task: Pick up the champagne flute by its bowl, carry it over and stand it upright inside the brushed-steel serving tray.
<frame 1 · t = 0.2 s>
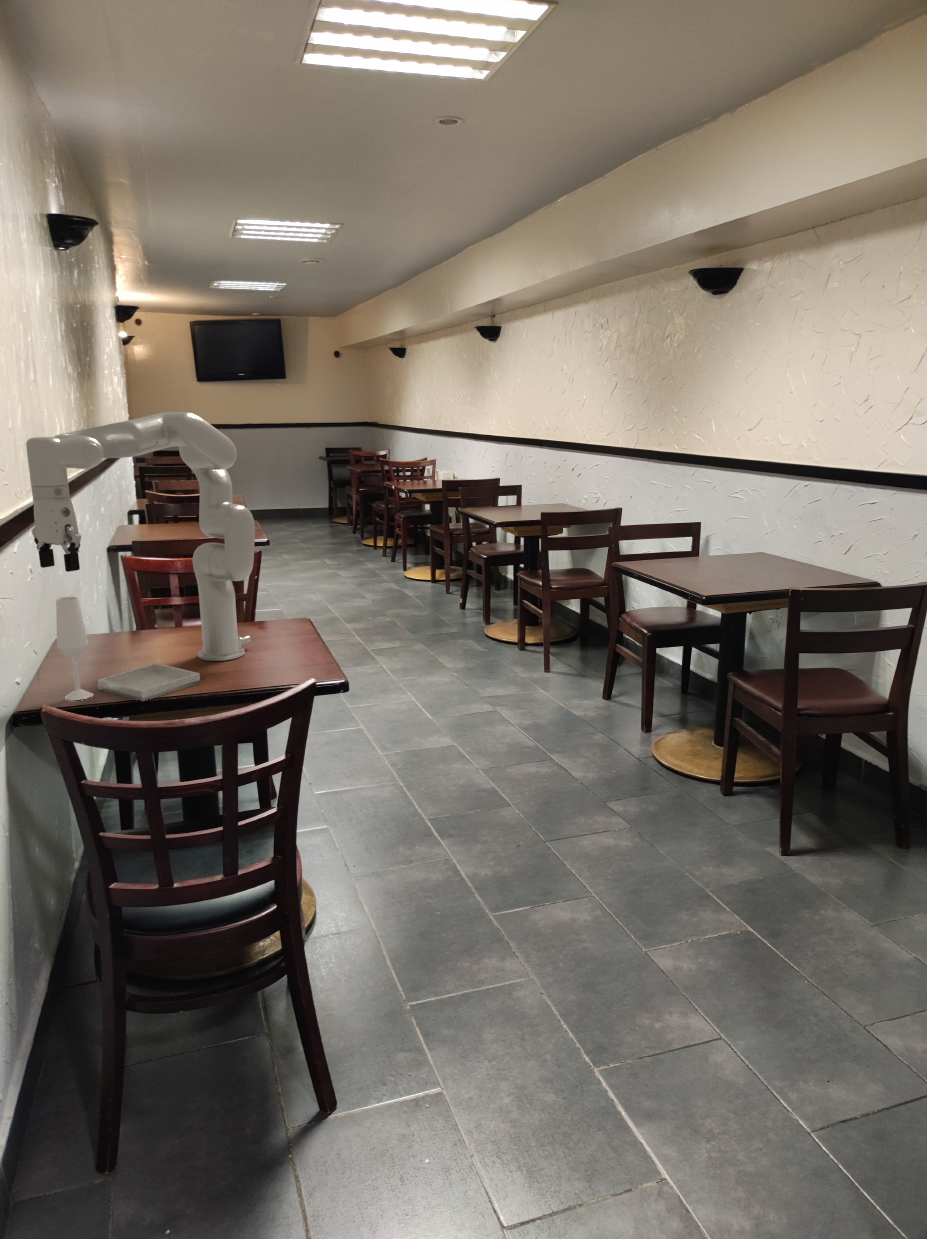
hand: (60, 568, 194), 31 cm above the table, tool pointing down, fingers open, 9 cm apart
serving tray: (150, 686, 211), on the table
champagne flute: (78, 697, 203), on the table
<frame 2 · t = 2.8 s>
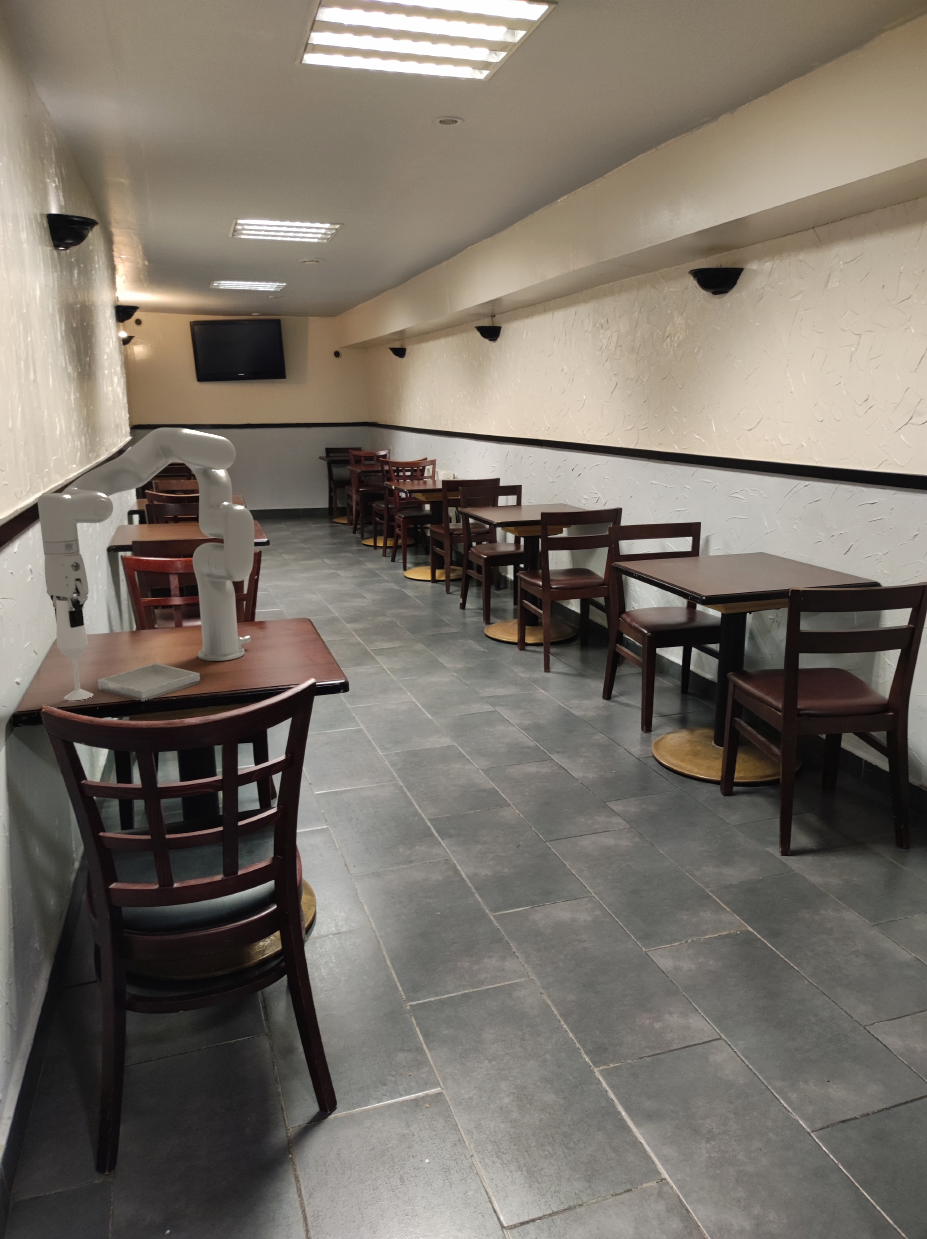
hand: (70, 624, 199), 18 cm above the table, tool pointing down, fingers closed on champagne flute, 4 cm apart
champagne flute: (78, 697, 203), on the table, touching gripper
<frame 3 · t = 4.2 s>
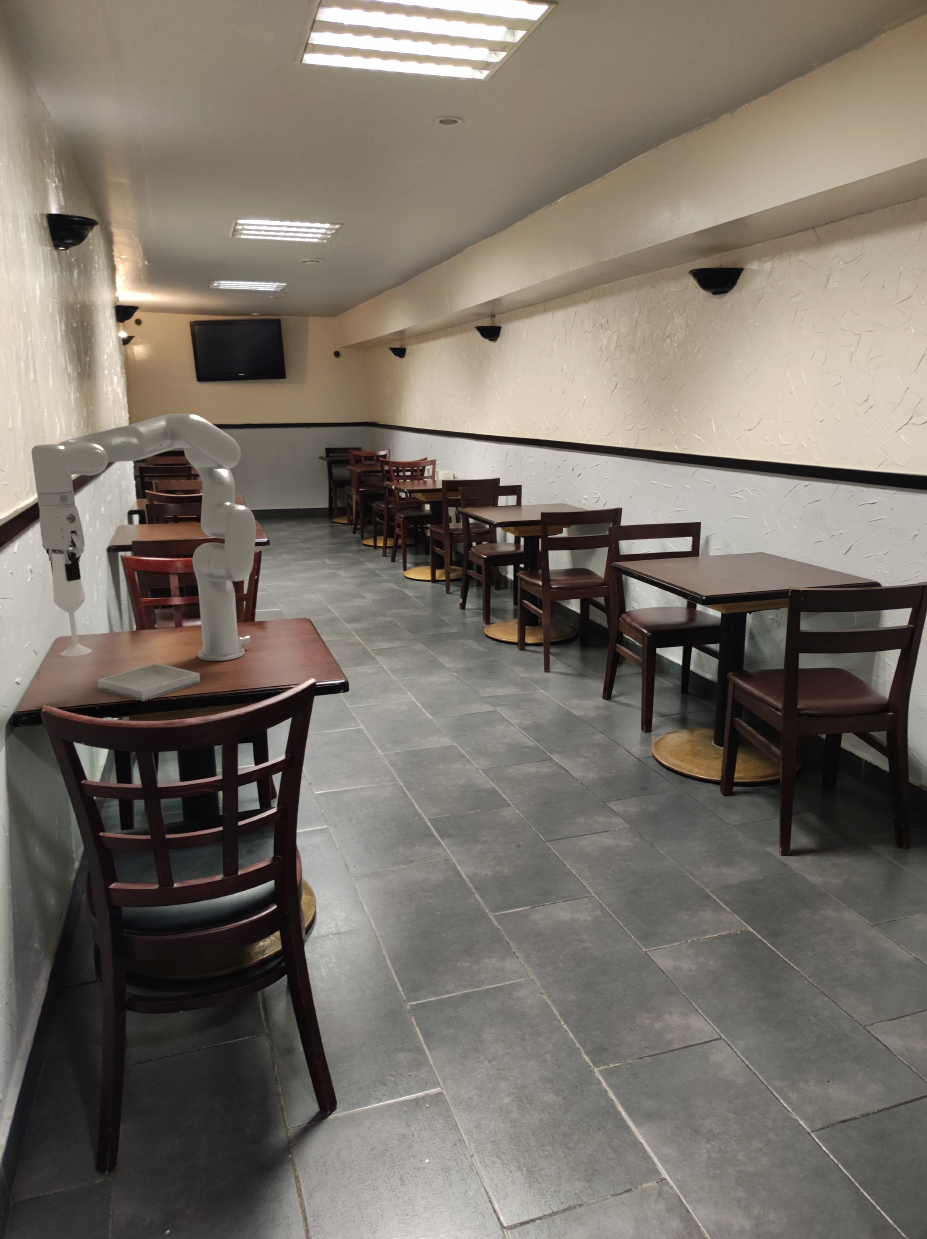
hand: (66, 578, 197), 29 cm above the table, tool pointing down, fingers closed on champagne flute, 4 cm apart
champagne flute: (76, 653, 201), point 11 cm above the table, touching gripper
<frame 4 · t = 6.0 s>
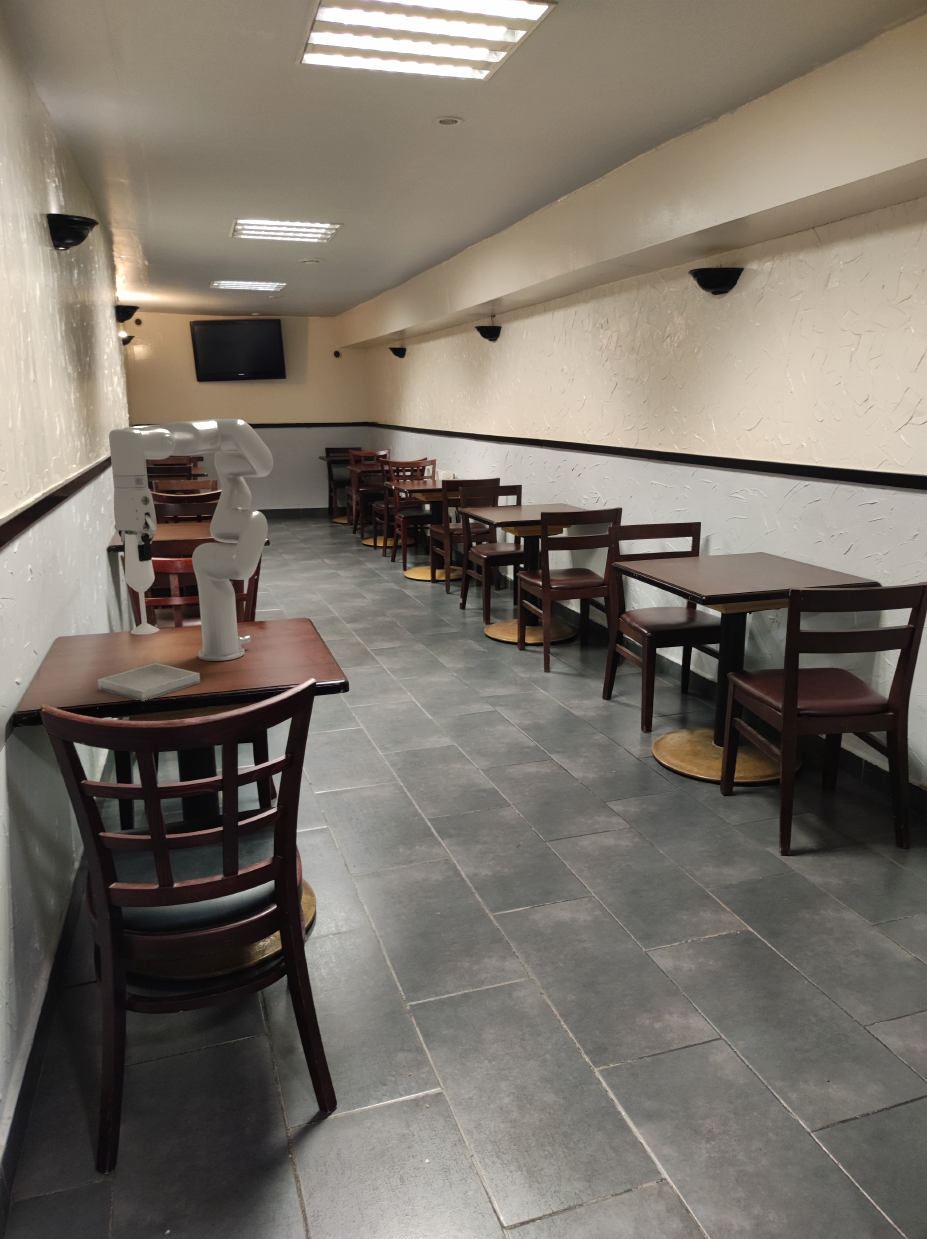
hand: (138, 558, 203), 32 cm above the table, tool pointing down, fingers closed on champagne flute, 4 cm apart
champagne flute: (145, 631, 208), point 14 cm above the table, touching gripper
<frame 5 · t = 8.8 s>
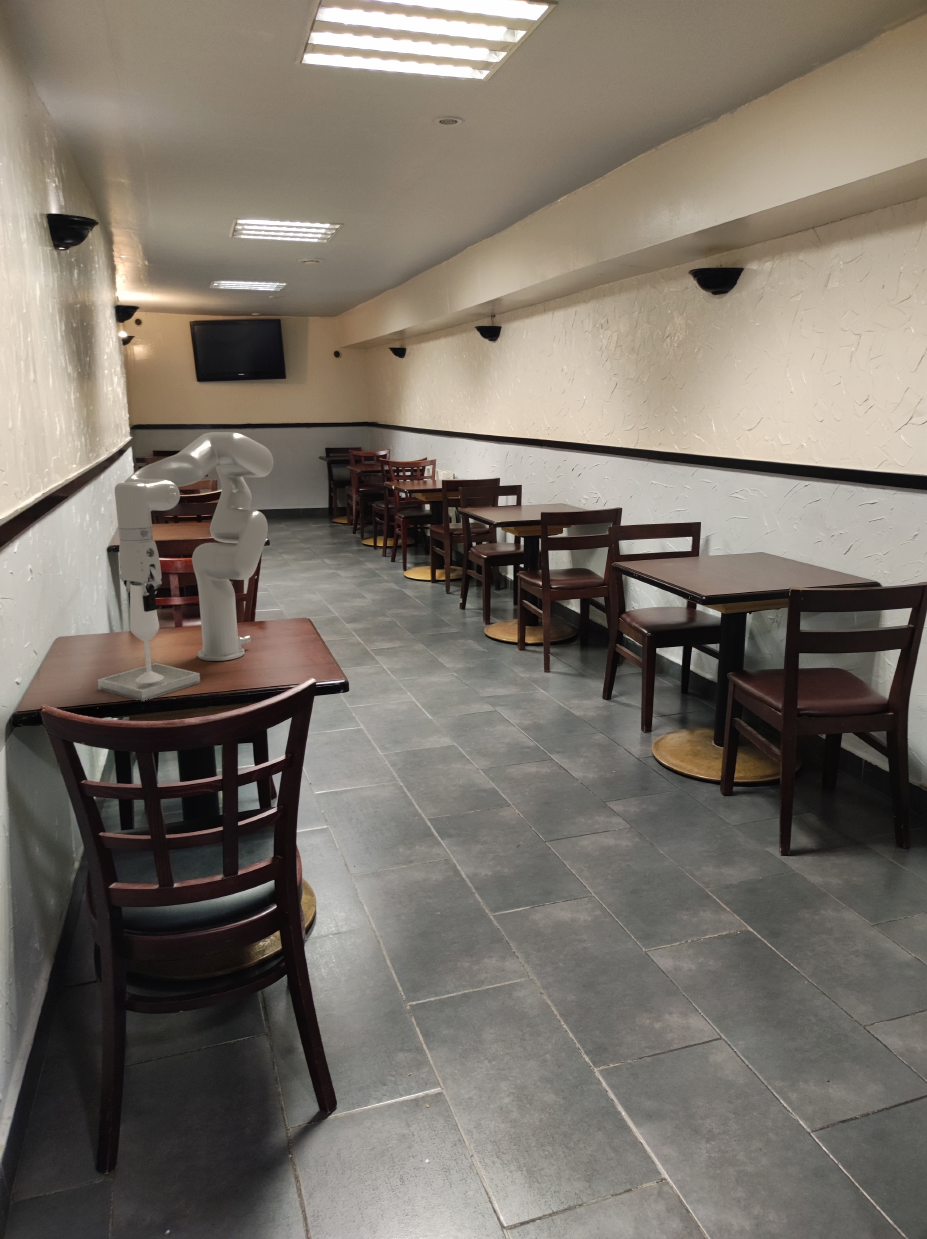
hand: (143, 608, 206), 20 cm above the table, tool pointing down, fingers closed on champagne flute, 4 cm apart
champagne flute: (149, 679, 211), point 2 cm above the table, touching gripper
when the fingers open (20 cm above the table, at t = 9.5 s): champagne flute drops 1 cm, resting on serving tray.
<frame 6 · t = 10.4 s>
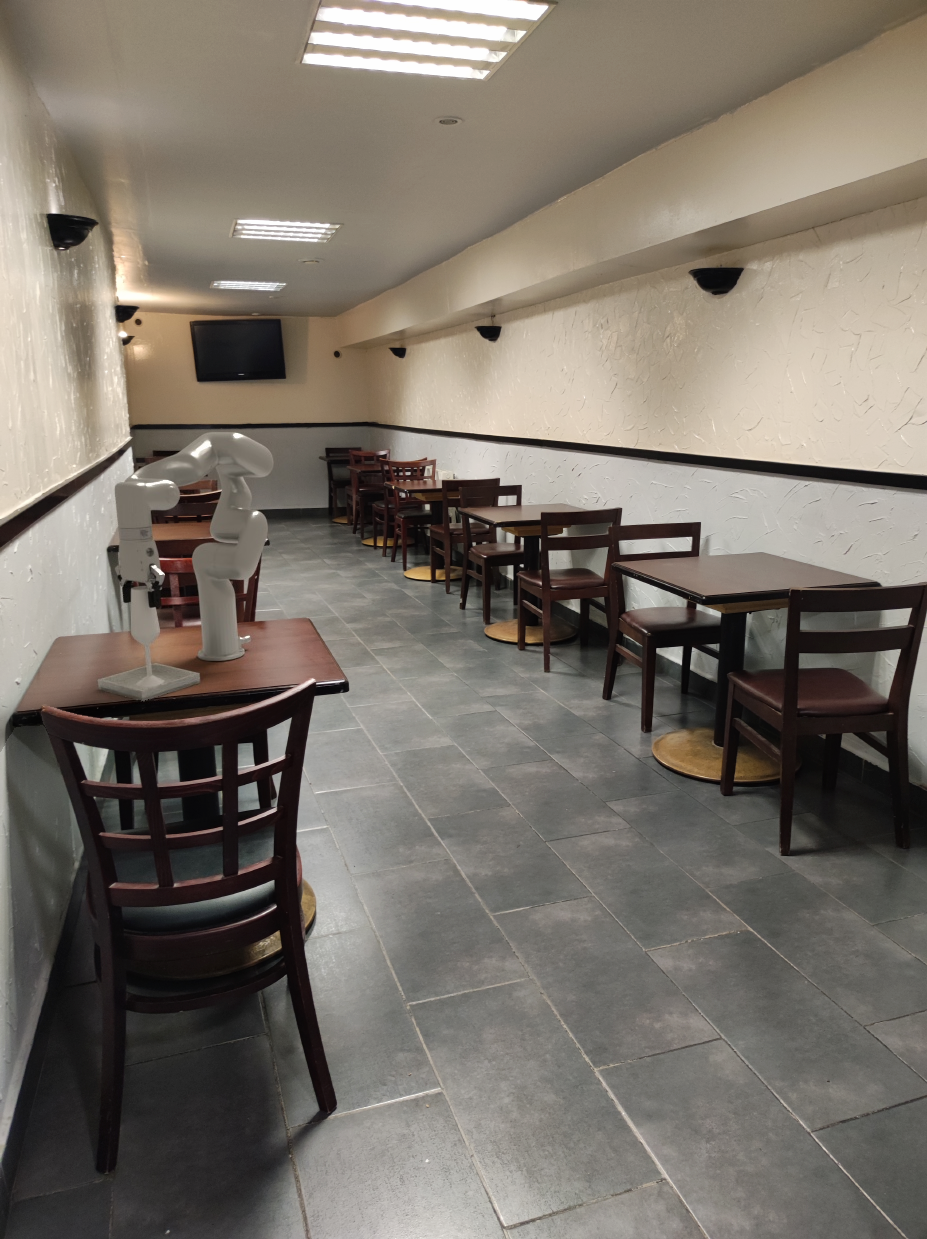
hand: (142, 604, 206), 21 cm above the table, tool pointing down, fingers open, 9 cm apart
champagne flute: (150, 683, 211), point 1 cm above the table, touching serving tray
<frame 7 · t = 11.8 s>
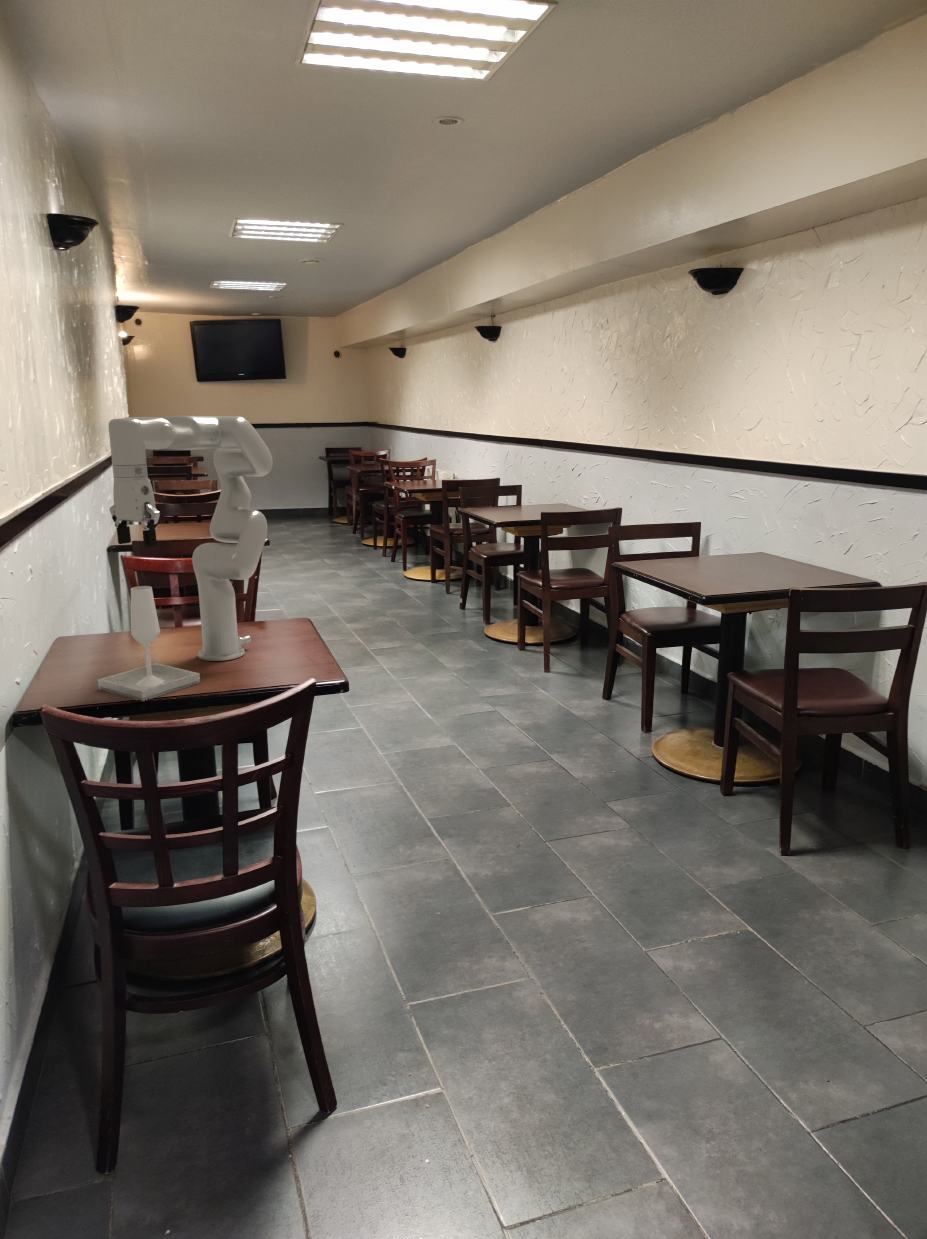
hand: (137, 545, 203), 35 cm above the table, tool pointing down, fingers open, 9 cm apart
nothing on the table moved.
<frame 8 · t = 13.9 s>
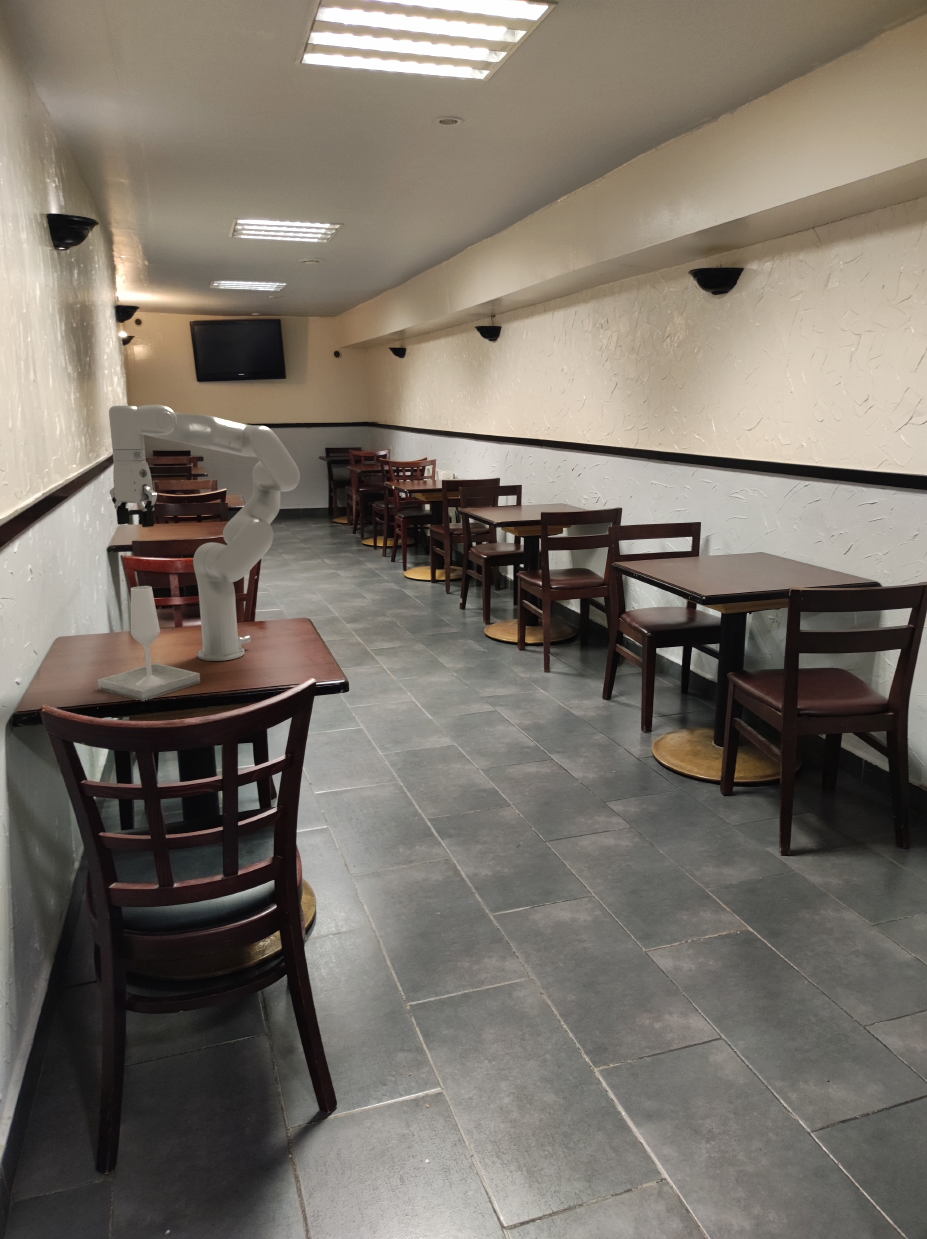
hand: (135, 525, 215), 38 cm above the table, tool pointing down, fingers open, 9 cm apart
nothing on the table moved.
at the end: champagne flute inside the target area on the serving tray (0.2 cm from its centre), point 0.6 cm above the serving tray's base; champagne flute tilted 0°; the gripper is holding nothing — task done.
